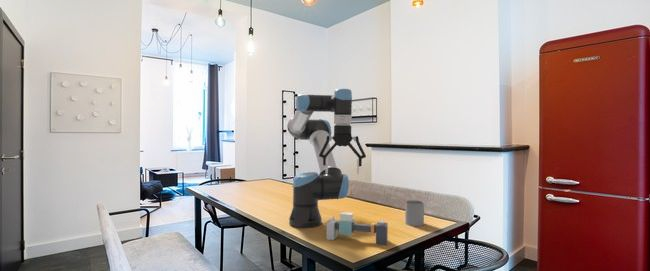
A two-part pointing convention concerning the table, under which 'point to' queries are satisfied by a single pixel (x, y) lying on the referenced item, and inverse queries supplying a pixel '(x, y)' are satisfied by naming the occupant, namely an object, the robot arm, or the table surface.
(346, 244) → the table surface
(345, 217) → the sleeve
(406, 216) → the cup
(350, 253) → the table surface
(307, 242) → the table surface
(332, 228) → the slider rail
